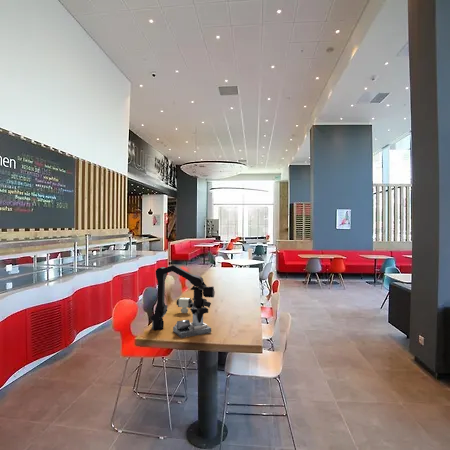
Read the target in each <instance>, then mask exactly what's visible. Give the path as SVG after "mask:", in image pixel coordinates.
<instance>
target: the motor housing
mask: <svg viewBox="0 0 450 450" xmlns="http://www.w3.org/2000/svg"><path fill="white" fill-rule="evenodd" d="M172 328H173V329H172V332H173V333H174V334H176V335H177V336H178V337H179V338H180V339H184V338H189V337H195V336H199V335H201V336H202V335H205V334H206V335H207V334H211V333H212V327H211V326H209V325H208V324H207V323H205V322H203V324H202V325H194V324H193V322H191V321H190V320H189V319H184V320H177V321H176V323H175V325H174V326H172Z"/></svg>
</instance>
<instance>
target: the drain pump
mask: <svg viewBox="0 0 450 450" xmlns="http://www.w3.org/2000/svg"><path fill="white" fill-rule="evenodd" d="M192 323H193V324H194V325H202V324H203V323H204V315H203V316H202V319H201V322H200V323H199V322H198V319H197V315H196V312H195V314H192Z"/></svg>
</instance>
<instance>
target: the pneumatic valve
mask: <svg viewBox="0 0 450 450" xmlns="http://www.w3.org/2000/svg"><path fill="white" fill-rule="evenodd" d="M175 303H176V306H177V308H180V312H181V314H187V313H189V308H188V304H189V303H194V301H193V300H192V298H191V297H185V296H184V297H179V298H178V299H176V302H175Z"/></svg>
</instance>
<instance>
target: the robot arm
mask: <svg viewBox="0 0 450 450" xmlns="http://www.w3.org/2000/svg"><path fill="white" fill-rule="evenodd" d="M172 272H173V273H175V274H177V275H178V276H180V277H182V278H183V279H186V280H187V281H189V283H190V285H191V284H192V285H193V286H192V287H191V288H190V290H191V291H193V298H191V300H192V301H193V303H189V304H188V307H187V308H188V309H189V310H190V311H191V314H192V315H193V314H195V312H196V315H197V319H198V322H199V323H200V322H201V319H202V316H203V317H204V314H208V313H209V309H208V308H211V305H212V302H210V301H207V299H205V298H213V299H214V298H215V293H216V292H215V288H214V286H207V284H206V283H205V281H204V278H203V277H202V276H199V275H196V274H193V273H191V272H189V271H186V270H185V269H183V268H182V267H180V266H177V264H172V265H169V266H166V267H165V266H161V267H158V268H157V269H156V270H155V277H156V280H157V294H156V295H157V300H156V301H157V302H156V306H155V310H154V313H153V315H152V316H151V317H150V320H151V324H152V325H151V329H152V330H153V331H159V330H164V326H165V324H164V323H165V322H164V316H165V315H166V314H167V312H168V304H166V303H165V291H166V290H165V289H166V279H167V277H168V273H172ZM203 297H204V298H203Z"/></svg>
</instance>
